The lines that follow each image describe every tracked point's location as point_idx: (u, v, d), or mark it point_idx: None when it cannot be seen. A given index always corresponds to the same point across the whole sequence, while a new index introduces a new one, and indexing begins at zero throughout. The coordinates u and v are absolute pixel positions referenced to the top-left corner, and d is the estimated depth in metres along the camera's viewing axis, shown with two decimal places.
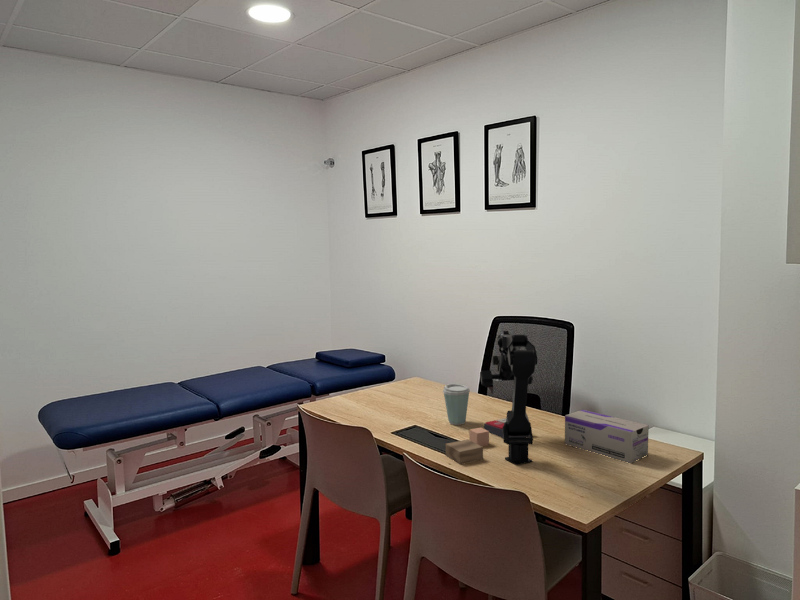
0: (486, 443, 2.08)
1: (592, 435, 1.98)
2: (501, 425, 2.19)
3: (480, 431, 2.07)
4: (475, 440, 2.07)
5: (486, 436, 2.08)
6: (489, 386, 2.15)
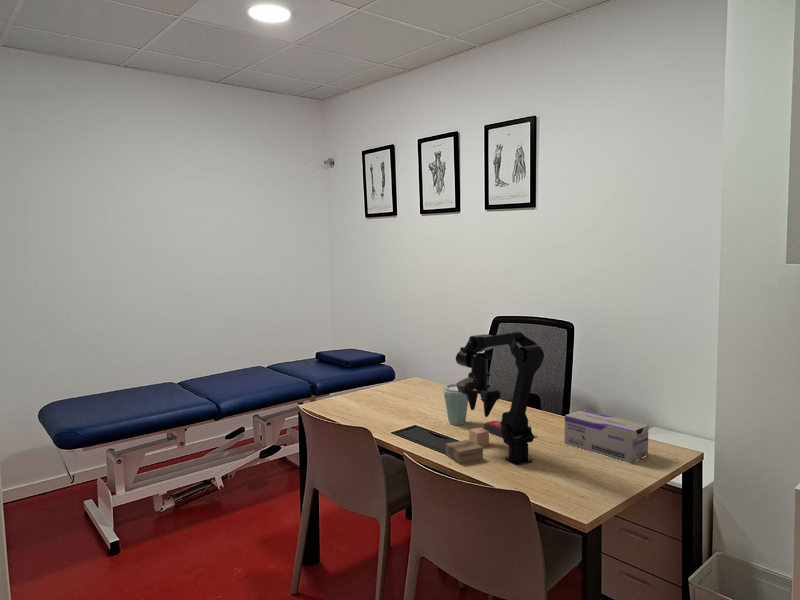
0: (486, 443, 2.08)
1: (592, 435, 1.98)
2: None
3: (480, 431, 2.07)
4: (475, 440, 2.07)
5: (486, 436, 2.08)
6: None
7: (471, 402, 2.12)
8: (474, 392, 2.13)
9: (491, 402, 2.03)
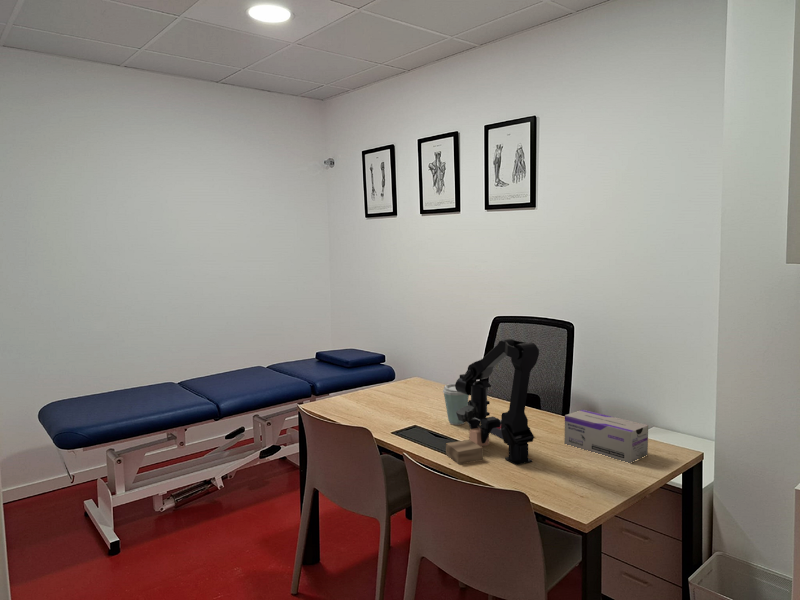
0: (486, 443, 2.08)
1: (592, 435, 1.98)
2: None
3: (480, 431, 2.07)
4: (475, 440, 2.07)
5: None
6: None
7: None
8: (476, 421, 2.12)
9: (488, 429, 2.06)
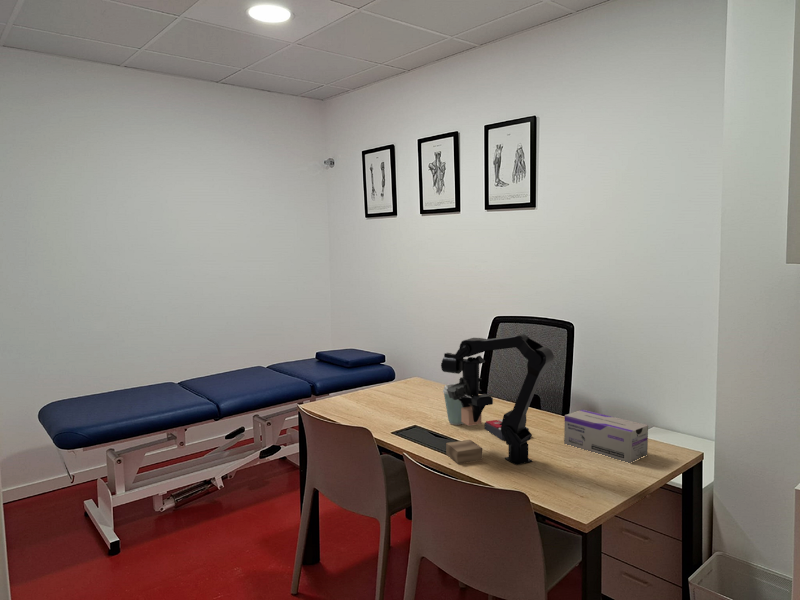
0: (478, 422, 2.00)
1: (592, 435, 1.98)
2: (499, 425, 2.19)
3: None
4: (466, 418, 1.99)
5: None
6: None
7: None
8: (469, 399, 2.04)
9: (480, 407, 1.98)
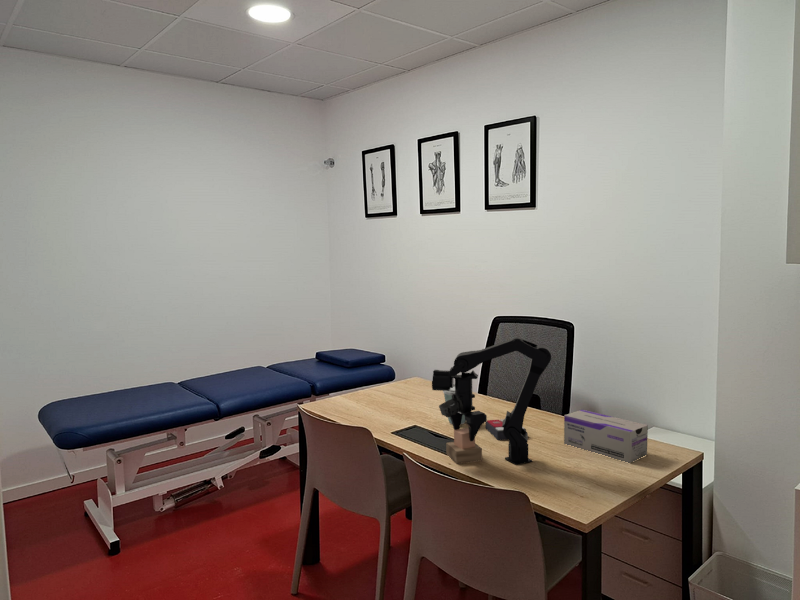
0: (472, 444, 1.94)
1: (592, 435, 1.98)
2: (497, 424, 2.20)
3: (465, 432, 1.94)
4: (460, 441, 1.93)
5: None
6: None
7: (455, 425, 1.99)
8: (458, 414, 2.00)
9: (476, 425, 1.90)
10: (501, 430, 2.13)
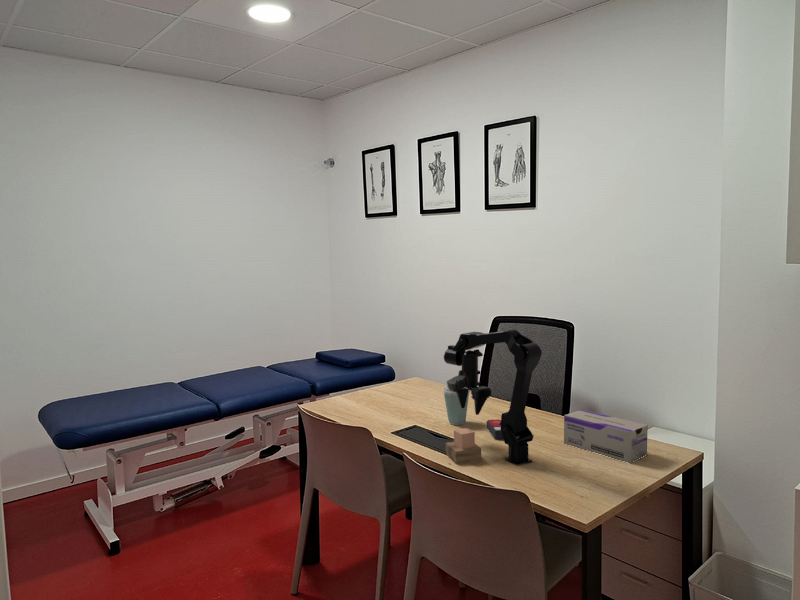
0: (472, 445, 1.94)
1: (592, 435, 1.98)
2: (496, 424, 2.20)
3: (465, 432, 1.94)
4: (459, 441, 1.93)
5: (472, 437, 1.94)
6: None
7: (461, 400, 2.11)
8: (464, 390, 2.12)
9: (482, 400, 2.02)
10: (499, 430, 2.14)
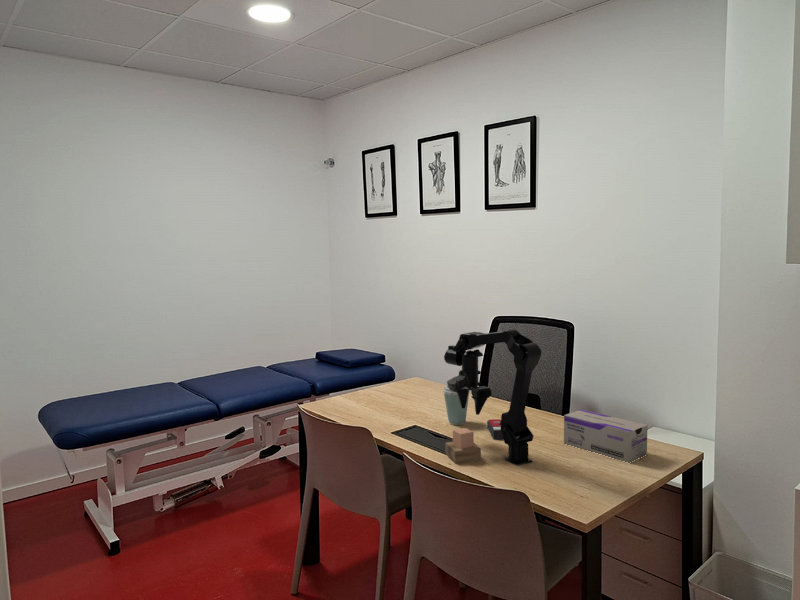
0: (470, 444, 1.94)
1: (591, 435, 1.98)
2: (496, 424, 2.21)
3: (464, 432, 1.94)
4: (458, 441, 1.93)
5: (470, 437, 1.94)
6: None
7: (462, 400, 2.12)
8: (465, 390, 2.12)
9: (482, 400, 2.03)
10: (497, 430, 2.14)
